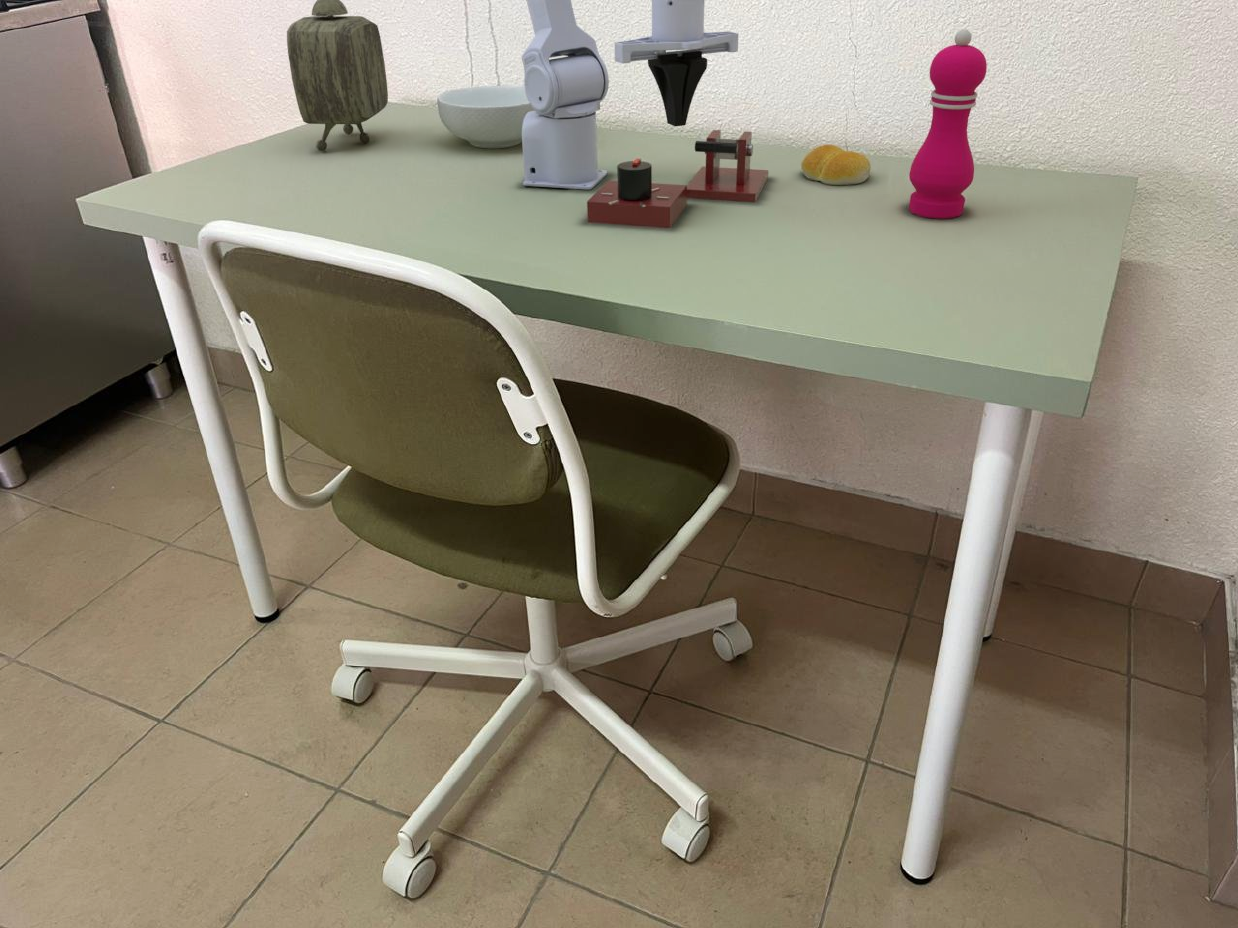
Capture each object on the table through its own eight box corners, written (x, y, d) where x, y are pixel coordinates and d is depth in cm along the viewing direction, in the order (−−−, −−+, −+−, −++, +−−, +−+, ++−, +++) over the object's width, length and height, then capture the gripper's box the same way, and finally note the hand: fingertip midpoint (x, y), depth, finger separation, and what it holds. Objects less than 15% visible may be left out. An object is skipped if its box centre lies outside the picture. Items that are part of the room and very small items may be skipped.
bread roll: (844, 191, 122) (847, 159, 120) (790, 177, 128) (792, 146, 126) (883, 178, 127) (887, 147, 124) (829, 165, 132) (832, 136, 130)
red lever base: (755, 203, 118) (758, 147, 115) (684, 198, 121) (685, 143, 117) (767, 179, 127) (771, 126, 124) (701, 175, 129) (703, 123, 126)
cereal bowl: (546, 155, 140) (543, 105, 136) (433, 157, 140) (427, 107, 136) (554, 128, 154) (552, 82, 150) (452, 130, 155) (447, 84, 151)
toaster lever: (735, 159, 112) (737, 137, 111) (693, 156, 113) (695, 135, 113) (749, 160, 122) (750, 140, 122) (710, 158, 124) (712, 138, 123)
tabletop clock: (343, 132, 155) (314, -42, 142) (396, 132, 154) (372, -42, 141) (306, 154, 143) (271, -33, 130) (364, 155, 142) (334, -34, 128)
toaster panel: (585, 225, 112) (585, 201, 111) (609, 201, 120) (608, 179, 119) (668, 231, 110) (668, 207, 109) (686, 206, 118) (687, 183, 116)
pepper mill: (968, 204, 116) (999, 25, 106) (966, 222, 111) (999, 35, 100) (907, 200, 118) (932, 24, 108) (901, 217, 113) (927, 33, 102)
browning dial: (647, 202, 111) (647, 168, 109) (613, 200, 112) (613, 166, 110) (655, 192, 114) (655, 159, 112) (622, 190, 115) (622, 157, 113)
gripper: (634, 2, 97) (635, 139, 104) (755, -8, 102) (748, 123, 109) (605, -5, 103) (608, 126, 110) (721, -14, 108) (717, 112, 115)
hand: (676, 124), depth 110 cm, fingers closed
